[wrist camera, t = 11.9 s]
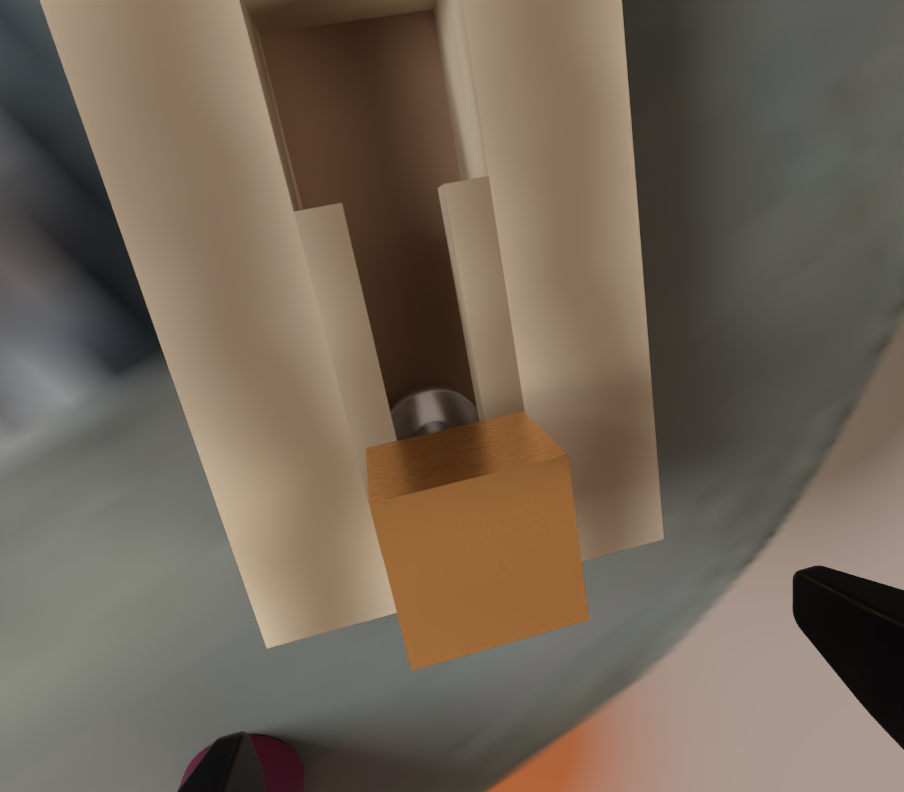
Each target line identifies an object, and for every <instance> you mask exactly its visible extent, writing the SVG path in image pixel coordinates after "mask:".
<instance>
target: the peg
mask: <svg viewBox="0 0 904 792" xmlns="http://www.w3.org/2000/svg"><path fill="white" fill-rule="evenodd" d="M389 409H390V413H391V417H392V422H393V426H394V430H395V435H396V439H397V441H394V442H390V443H386V444H382V445H377V446H373V447H369V448H366V460H367V477H368V493H369V505H370V509H371V513H372V517H373V521H374V525H375V529H376V533H377V537H378V541H379V544H380V548H381V552H382V556H383V560H384V564H385V568H386V572H387V576H388V580H389V584H390V588H391V591H392V595H393V599H394V603H395V607H396V611H397V615H398V619H399V623H400V627H401V631H402V634H403V638H404V642H405V646H406V650H407V654H408V658H409V662H410V666H411V670H412V671H413V670H416V669H420V668H423V667H427V666H430V665H434V664H437V663H441V662H444V661H448V660H451V659H455V658H458V657H461V656H465V655H468V654H472V653H475V652H479V651H482V650H486V649H489V648H493V647H496V646H500V645H503V644H507V643H510V642H514V641H517V640H521V639H524V638H528V637H531V636H535V635H538V634H541V633H545V632H548V631H552V630H555V629H559V628H562V627H566V626H569V625H573V624H576V623H580V622H583V621H587V620H589V612H588V605H587V597H586V589H585V582H584V574H583V566H582V559H581V551H580V543H579V536H578V528H577V520H576V513H575V505H574V497H573V490H572V482H571V474H570V467H569V459H568V454H567V453H566V452H565V451H564V450H563V449H562V448H561V447H560V446H559V445H558V444H557V443H555V442H554V441H553V440H552V439H551V438H550V437H549V436H548V435H547V434H546V433H545V432H544V431H543V430H542V429H541V428H540V427H539V426H538V425H537V424H536V423H535V422H534V421H533V420H532V419H531V418H530V417H528V416H527V415H526V414H525V413H524V412H523V411H521V412H517V413H513V414H509V415H504V416H500V417H496V418H492V419H487V420H483V421H479V416H478V410H477V408H476V407H475V405H474V404H473V403H472V401H471V400H470V399H469V398H468V397H467V396H466V395H465V394H464V393H463V392H461V391H460V390H458V389H456V388H454V387H452V386H450V385H447V384H442V383H423V384H419V385H415V386H413V387H410V388H408V389H406V390H405V391H403V392H402V393H400V394H399V395H398V396H397V397H396V398H395V399H394V400H393V401H392V402H391V403H390V404H389Z"/></svg>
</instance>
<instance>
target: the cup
mask: <svg viewBox="0 0 904 792" xmlns="http://www.w3.org/2000/svg"><path fill="white" fill-rule="evenodd" d="M249 737H250V739H251V741H252V744H253V747H254V749H255V752H256V754H257V757H258V760H259V762H260V765H261V767H262V770H263V774H264V781H265V792H304V771H303V765H302V763H301V761H300V759H299V757H298V756H297V754H296V753H295V752H294V751H293V750H292V749H291V748H290V747H288V746H287V745H286V744H284V743H282V742H280V741H278V740H276V739H273V738H270V737H266V736H259V735H249ZM210 747H211V745H210V746H208V747H207V748H205V749H204V750H203V751H201V752H200V753H199V754H198V755H197V756H196V757H195V758H194V759H193V760H192V761H191V763H190V764H189V766H188V768H187V769H186V771H185V774H184V776H183V779H182V781H181V784H180V786H179V788H180V787H181V786H182V784H183V783H184V782H185V780H186V779H187V778H188V776H189V775H190V774H191V772H192V771H193V770H194V768H195V767H196V765H197V764H198V763H199V761H200V760H201V759H202V757H203V756H204V755H205V753H206V752H207V751H208V749H209V748H210ZM178 790H179V789H178Z"/></svg>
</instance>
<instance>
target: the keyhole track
mask: <svg viewBox="0 0 904 792" xmlns="http://www.w3.org/2000/svg"><path fill="white" fill-rule="evenodd" d="M40 2H41V5H42V8H43V11H44V14H45V17H46V19H47V22H48V25H49V28H50V31H51V34H52V37H53V39H54V42H55V45H56V48H57V51H58V54H59V57H60V59H61V62H62V65H63V68H64V71H65V74H66V77H67V79H68V82H69V85H70V88H71V91H72V94H73V97H74V99H75V102H76V105H77V108H78V111H79V114H80V117H81V119H82V122H83V125H84V128H85V131H86V134H87V137H88V139H89V142H90V145H91V148H92V151H93V154H94V156H95V159H96V162H97V165H98V168H99V171H100V174H101V176H102V179H103V182H104V185H105V188H106V191H107V194H108V196H109V199H110V202H111V205H112V208H113V211H114V214H115V216H116V219H117V222H118V225H119V228H120V231H121V234H122V236H123V239H124V242H125V245H126V248H127V251H128V254H129V256H130V259H131V262H132V265H133V268H134V271H135V274H136V276H137V279H138V282H139V285H140V288H141V291H142V294H143V296H144V299H145V302H146V305H147V308H148V311H149V313H150V316H151V319H152V322H153V325H154V328H155V331H156V333H157V336H158V339H159V342H160V345H161V348H162V351H163V353H164V356H165V359H166V362H167V365H168V368H169V371H170V373H171V376H172V379H173V382H174V385H175V388H176V391H177V393H178V396H179V399H180V402H181V405H182V408H183V411H184V413H185V416H186V419H187V422H188V425H189V428H190V431H191V433H192V436H193V439H194V442H195V445H196V448H197V451H198V453H199V456H200V459H201V462H202V465H203V468H204V471H205V473H206V476H207V479H208V482H209V485H210V488H211V490H212V493H213V496H214V499H215V502H216V505H217V508H218V510H219V513H220V516H221V519H222V522H223V525H224V528H225V530H226V533H227V536H228V539H229V542H230V545H231V548H232V550H233V553H234V556H235V559H236V562H237V565H238V568H239V570H240V573H241V576H242V579H243V582H244V585H245V588H246V590H247V593H248V596H249V599H250V602H251V605H252V608H253V610H254V613H255V616H256V619H257V622H258V625H259V628H260V630H261V633H262V636H263V639H264V642H265V645H266V647H267V648H271V647H274V646H278V645H282V644H285V643H289V642H293V641H296V640H300V639H303V638H307V637H311V636H314V635H318V634H322V633H325V632H329V631H333V630H336V629H340V628H343V627H347V626H351V625H354V624H358V623H362V622H365V621H369V620H372V619H376V618H380V617H383V616H387V615H391V614H394V613H397V611H396V607H395V603H394V599H393V595H392V591H391V588H390V584H389V580H388V576H387V572H386V568H385V564H384V560H383V556H382V552H381V548H380V544H379V541H378V537H377V533H376V529H375V525H374V521H373V517H372V513H371V509H370V505H369V493H368V477H367V460H366V448H369V447H373V446H377V445H382V444H386V443H390V442H394V441H397V439H396V435H395V430H394V426H393V422H392V417H391V413H390V409H389V404H390V403H391V402H392V401H393V400H394V399H395V398H396V397H397V396H398V395H399V394H400V393H402V392H403V391H405V390H406V389H408V388H410V387H413V386H415V385H419V384H423V383H442V384H447V385H450V386H452V387H454V388H456V389H458V390H460V391H461V392H463V393H464V394H465V395H466V396H467V397H468V398H469V399H470V400H471V401H472V403H473V404H474V405H475V407H476V408H477V410H478V416H479V421H483V420H487V419H492V418H496V417H500V416H504V415H509V414H513V413H517V412H521V411H523V412H524V413H525V414H526V415H527V416H528V417H530V418H531V419H532V420H533V421H534V422H535V423H536V424H537V425H538V426H539V427H540V428H541V429H542V430H543V431H544V432H545V433H546V434H547V435H548V436H549V437H550V438H551V439H552V440H553V441H554V442H555V443H557V444H558V445H559V446H560V447H561V448H562V449H563V450H564V451H565V452H566V453H567V454H568V459H569V467H570V474H571V482H572V490H573V497H574V505H575V513H576V520H577V528H578V536H579V543H580V551H581V559H582V562H583V561H587V560H590V559H594V558H598V557H601V556H605V555H609V554H612V553H616V552H619V551H623V550H627V549H630V548H634V547H638V546H641V545H645V544H648V543H652V542H656V541H659V540H663V539H664V536H663V523H662V510H661V497H660V484H659V471H658V459H657V446H656V433H655V420H654V407H653V394H652V382H651V369H650V356H649V343H648V330H647V317H646V304H645V292H644V279H643V266H642V253H641V240H640V227H639V215H638V202H637V189H636V176H635V163H634V150H633V138H632V125H631V112H630V99H629V86H628V73H627V60H626V48H625V35H624V22H623V9H622V0H40Z"/></svg>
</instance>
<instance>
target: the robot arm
mask: <svg viewBox="0 0 904 792" xmlns="http://www.w3.org/2000/svg"><path fill="white" fill-rule="evenodd" d="M793 614H794V618H795V620H796V622H797V624H798V626H799V627H800V629H801V630H802V631H803V633H804V634H805V635H806V636H807V637H808V639H809V640H810V641H811V642H812V644H813V645H814V646H815V647H816V648H817V650H818V651H819V652H820V653H821V655H822V656H823V657H824V658H825V660H826V661H827V662H828V663H829V665H830V666H831V667H832V668H833V669H834V671H835V672H836V673H837V675H838V676H839V677H840V678H841V679H842V681H843V682H844V683H845V684H846V686H847V687H848V688H849V689H850V691H851V692H852V693H853V694H854V696H855V697H856V698H857V699H858V700H859V702H860V703H861V704H862V705H863V706H864V707H865V709H866V710H867V711H868V712H869V713H870V714H871V715H872V717H873V718H874V719H875V720H876V721H877V722H878V723H879V724H880V725H881V726H882V727H883V729H884V730H885V731H886V732H887V733H888V734H889V735H890V736H891V737H892V738H893V739H894V740H895V741H896V742H897V743H898V744H899V745H900V746H901V747H902V748H903V750H904V590H901V589H898V588H894V587H891V586H888V585H884V584H881V583H877V582H874V581H871V580H867V579H864V578H861V577H857V576H854V575H851V574H847V573H844V572H841V571H837V570H834V569H831V568H827V567H824V566H813V567H809V568H806V569H802V570H799V571H797V572H796V573H795V574H794V576H793ZM177 792H265V781H264V774H263V770H262V767H261V765H260V762H259V760H258V757H257V754H256V752H255V749H254V747H253V744H252V741H251V739H250V737H249V735H248V734H247V733H246V732H244V731H240V732H237V733H233V734H230V735H226V736H223V737H220V738H218V739H217V740H216V741H215V742H214V743H213V744H212V745H211V747H210V748H209V749H208V751H207V752H206V753H205V755H204V756H203V757H202V759H201V760H200V761H199V763H198V764H197V765H196V767H195V768H194V770H193V771H192V772H191V774H190V775H189V776H188V778H187V779H186V780H185V782H184V783H183V784H182V786H181V787H180V788H179V790H178V791H177Z"/></svg>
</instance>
